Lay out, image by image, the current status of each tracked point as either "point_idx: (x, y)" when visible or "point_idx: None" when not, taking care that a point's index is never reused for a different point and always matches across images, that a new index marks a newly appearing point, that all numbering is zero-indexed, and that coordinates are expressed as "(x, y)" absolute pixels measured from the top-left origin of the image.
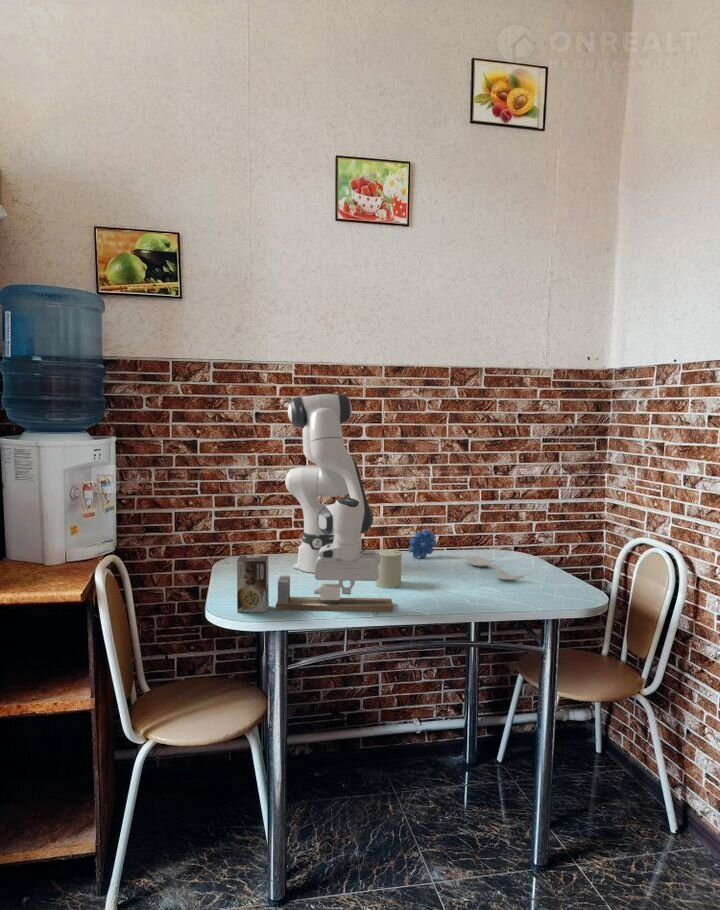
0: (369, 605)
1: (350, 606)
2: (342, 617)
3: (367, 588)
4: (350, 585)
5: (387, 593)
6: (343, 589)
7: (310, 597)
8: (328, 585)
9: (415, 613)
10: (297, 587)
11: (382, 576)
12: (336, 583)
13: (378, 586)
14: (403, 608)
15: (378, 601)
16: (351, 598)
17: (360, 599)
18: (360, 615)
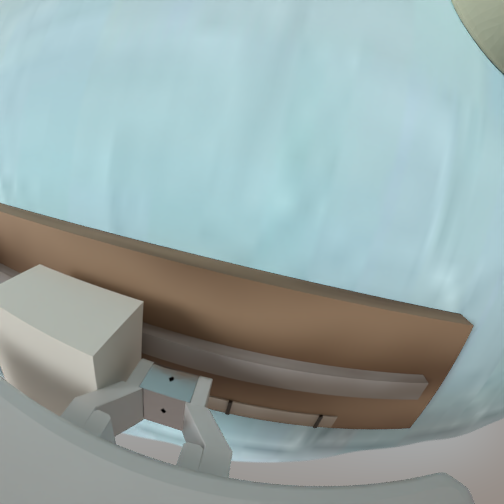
0: (315, 420)
1: (208, 407)
2: (171, 432)
3: (411, 20)
4: (192, 437)
5: (497, 147)
6: (140, 414)
7: (17, 225)
8: (30, 379)
9: (456, 418)
10: (40, 9)
11: None
12: (65, 361)
13: (466, 28)
14: (460, 379)
15: (383, 395)
16: (239, 293)
17: (285, 378)
18: (250, 435)
